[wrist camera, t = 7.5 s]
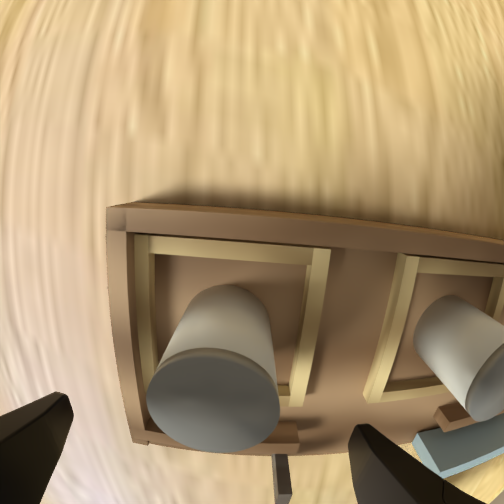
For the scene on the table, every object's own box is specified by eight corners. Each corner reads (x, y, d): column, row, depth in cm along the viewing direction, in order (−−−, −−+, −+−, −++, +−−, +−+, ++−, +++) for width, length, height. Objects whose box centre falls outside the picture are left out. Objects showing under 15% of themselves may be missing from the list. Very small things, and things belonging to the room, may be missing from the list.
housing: (490, 410, 19) (518, 442, 14) (149, 431, 19) (129, 487, 13) (547, 248, 16) (593, 265, 10) (132, 202, 15) (77, 212, 10)
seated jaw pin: (455, 356, 16) (510, 411, 10) (404, 361, 16) (456, 430, 10) (475, 295, 15) (544, 338, 9) (423, 294, 15) (496, 348, 9)
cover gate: (493, 425, 18) (515, 451, 14) (407, 451, 18) (426, 489, 13) (503, 407, 18) (527, 433, 13) (417, 433, 17) (440, 472, 13)
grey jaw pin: (265, 364, 16) (271, 455, 9) (184, 357, 16) (153, 443, 9) (274, 288, 15) (289, 362, 8) (184, 281, 15) (139, 348, 8)
